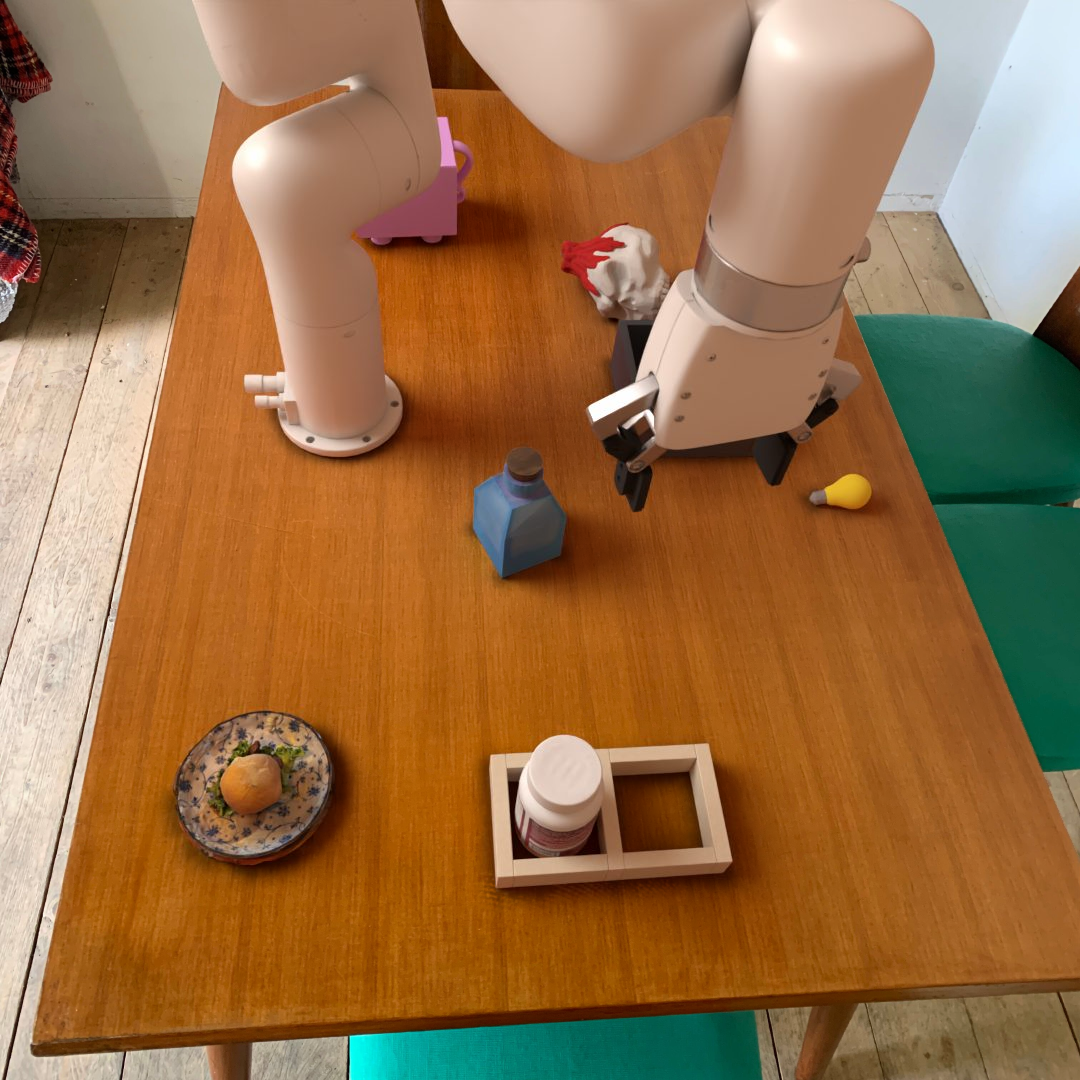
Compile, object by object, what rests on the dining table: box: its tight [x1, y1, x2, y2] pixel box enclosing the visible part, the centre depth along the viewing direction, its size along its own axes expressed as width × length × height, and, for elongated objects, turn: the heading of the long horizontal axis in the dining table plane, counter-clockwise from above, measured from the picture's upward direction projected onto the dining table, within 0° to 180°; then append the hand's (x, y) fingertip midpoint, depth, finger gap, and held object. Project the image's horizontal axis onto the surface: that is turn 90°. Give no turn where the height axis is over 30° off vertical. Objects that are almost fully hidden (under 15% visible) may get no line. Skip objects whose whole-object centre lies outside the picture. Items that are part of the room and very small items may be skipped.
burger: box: [172, 710, 336, 866], centre depth 69 cm, size 12×12×8 cm
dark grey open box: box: [609, 319, 758, 459], centre depth 97 cm, size 14×14×7 cm
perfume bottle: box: [472, 446, 568, 579], centre depth 83 cm, size 6×6×12 cm
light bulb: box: [809, 473, 873, 510], centre depth 92 cm, size 3×6×4 cm, turn 94°
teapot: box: [356, 116, 475, 246], centre depth 109 cm, size 20×10×12 cm, turn 99°
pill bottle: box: [513, 734, 604, 858], centre depth 68 cm, size 6×6×11 cm
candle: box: [560, 222, 671, 320], centre depth 106 cm, size 9×11×15 cm
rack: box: [488, 742, 733, 889], centre depth 71 cm, size 18×9×3 cm, turn 95°
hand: (698, 482), depth 60 cm, fingers open, 9 cm apart
